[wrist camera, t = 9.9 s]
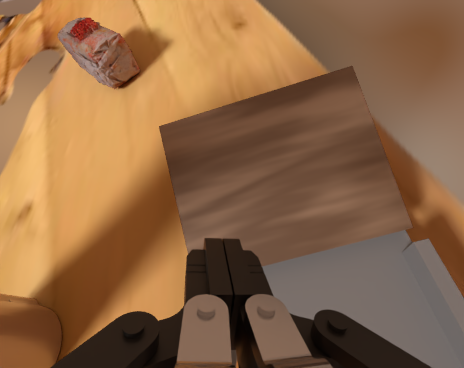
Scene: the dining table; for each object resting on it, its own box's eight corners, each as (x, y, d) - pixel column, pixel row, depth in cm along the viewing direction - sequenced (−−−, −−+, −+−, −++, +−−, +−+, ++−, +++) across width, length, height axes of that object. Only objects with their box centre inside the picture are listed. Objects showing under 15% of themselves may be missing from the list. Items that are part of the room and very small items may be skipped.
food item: (149, 70, 52) (119, 17, 43) (117, 99, 50) (79, 49, 41) (108, 50, 58) (75, 1, 50) (79, 75, 56) (39, 28, 48)
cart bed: (524, 484, 19) (604, 535, 14) (243, 531, 21) (224, 592, 16) (395, 238, 29) (415, 215, 23) (208, 286, 30) (189, 274, 25)
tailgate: (413, 227, 24) (352, 65, 27) (195, 283, 26) (158, 126, 29) (402, 227, 26) (346, 76, 29) (200, 279, 28) (166, 132, 31)
